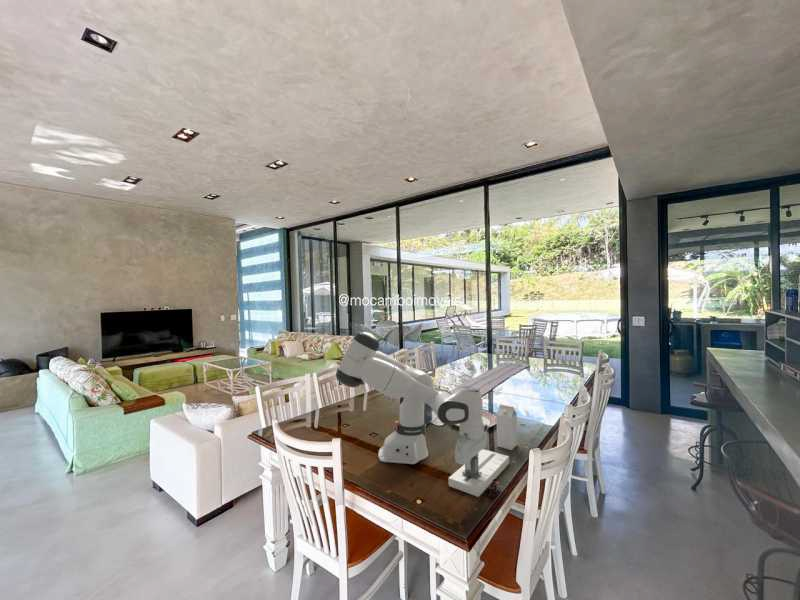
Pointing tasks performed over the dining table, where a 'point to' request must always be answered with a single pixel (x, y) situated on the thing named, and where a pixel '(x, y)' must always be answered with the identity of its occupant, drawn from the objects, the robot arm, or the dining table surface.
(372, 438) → the dining table surface
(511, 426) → the milk carton
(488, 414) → the dinner plate
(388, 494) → the dining table surface
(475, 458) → the fader tab
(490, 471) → the console board
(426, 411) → the bottle
